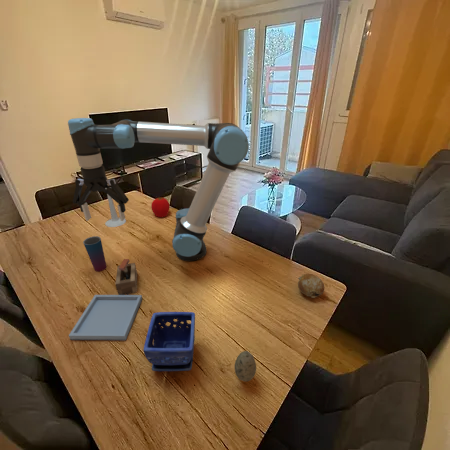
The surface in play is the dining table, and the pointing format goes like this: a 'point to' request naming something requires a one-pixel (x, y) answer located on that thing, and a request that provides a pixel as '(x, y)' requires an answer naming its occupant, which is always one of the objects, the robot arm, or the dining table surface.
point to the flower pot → (170, 341)
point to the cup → (95, 252)
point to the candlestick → (113, 214)
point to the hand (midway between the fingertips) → (105, 219)
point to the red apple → (160, 207)
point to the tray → (107, 318)
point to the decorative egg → (245, 366)
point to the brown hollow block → (129, 284)
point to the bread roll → (311, 285)
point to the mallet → (125, 268)
